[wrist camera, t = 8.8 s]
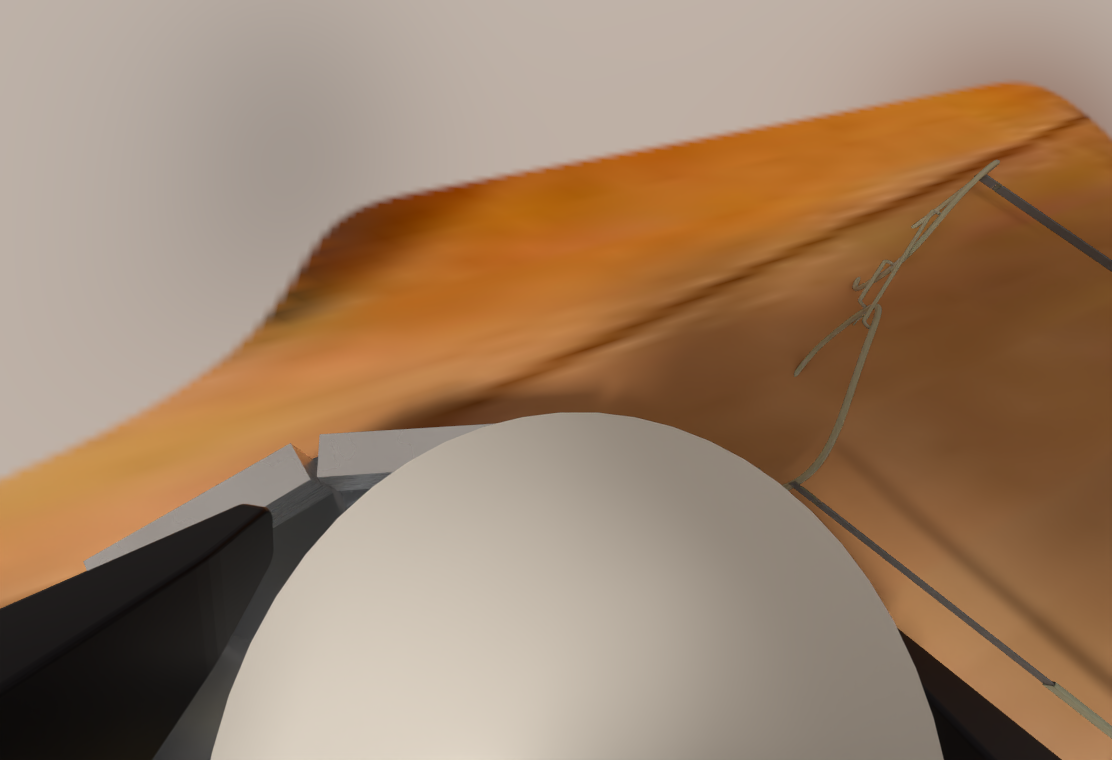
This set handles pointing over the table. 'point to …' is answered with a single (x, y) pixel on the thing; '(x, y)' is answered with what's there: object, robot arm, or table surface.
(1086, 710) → the eyeglasses
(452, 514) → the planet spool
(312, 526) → the carrier plate
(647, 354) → the table surface
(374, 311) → the table surface
